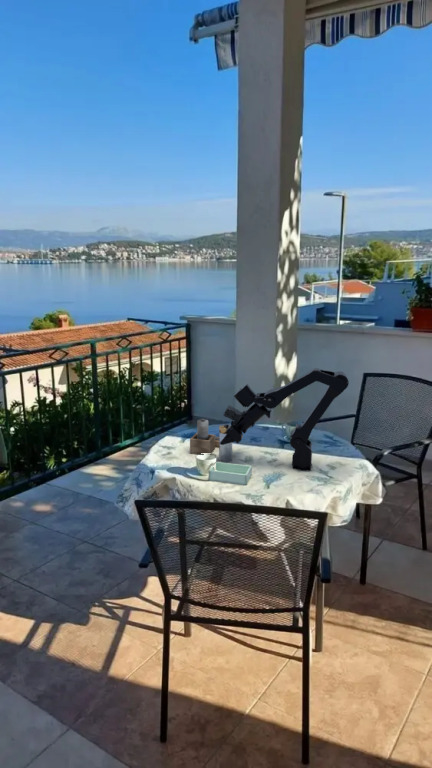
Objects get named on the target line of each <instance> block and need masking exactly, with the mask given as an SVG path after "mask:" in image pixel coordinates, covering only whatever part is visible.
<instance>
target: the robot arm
mask: <svg viewBox="0 0 432 768" xmlns="http://www.w3.org/2000/svg"><path fill="white" fill-rule="evenodd" d="M315 382H318V383H321V384H324V385H326V389H325V392H323V394H322V396H321V397H320V398H319V400H318V402H316V405H315V406H314V407H313V409H311V411H310V412H309V414H308V416H307V417H306V419H305V420H303V421H304V422H302V423H301V424H299V423H298V422H296V424H295V427H294V428H293V429H292V430H291V431H290V434H289V435H290V441H289V444H290V446H291V448H293V449H294V452H293V453H292V459H291V461H292V462H291V465H292V469H293V470H298V469H305V470H304V471H307V470H312V467H311V466H312V465H313V463H312V462H313V450H312V449H313V448H312V445H313V443H312V441H311V440H309V439H310V436H311V434H312V432H313V429H314V428H315V427H316V425H317V424H318V422H319V421H320V420H321V418H322V417H323V415H324V414H325V413H326V412H327V410H328V408H329V407H330V406H331V404H332V402H333V401H334V400H335V399H336V398H338V396H340V395H341V394H342V393H343V392H344V391H345V390H346V389H347V388H348V387H349V385H350V384H349V378H348V375H347V374H346V373H345V372H343V371H341V370H340V371H332V370H324V369H320V368H317V367H315V368H313V369H311V370H310V371H309V372H307V373H305V374H303V375H301V376H299V377H298V378H296V379H294V380H291V381H290V382H288V383H287V384H285V385H282V386H278V387H275V388H271V389H269V390H267V391H265V392H257V393H256V392H254V390H253V389H252V388H251V387H250V385H249V384H248V383H247V384H245V385H244V386H243V387H241V388H239V390H237V391H236V392H235V393H234V394H233V398H234V399H235V400H236V401H237V402H238V403H239V405H240V406H242V407H243V408H246V407H247V408H248V407H249V408H248V409H246V410H243V411H240V410H239V409H237V408H235V407H233V406H231V405H228V406H227V407H226V409H225V410H224V412H223V417H225V418H228V419H230V420H231V422H230V425H231V426H230V427H228V428H227V430H226V432H227V434H226V436H225V437H224V438H223V440H222V441H221V442H220V444H221V445H224V444H228V443H232V444H233V443H237V444H239V443H240V442H241V441H242V439H243V438H244V434H246V433H247V432H248V430H250V429H251V427H254V426H255V424H256V423H258V422H259V421H260V420H261V419H262V418H263V417H264V416H266V417H267V418H269V419H270V418H271V416H272V410H273V409H275V408H276V407H277V406H279V405H280V404H281V403H283V402H284V401H285V400H286V399H287V398H288V397H290V396H291V395H293V394H295V393H297V392H299V391H300V390H303V389H304V388H306V387H308V386H310V385H312V384H313V383H315Z"/></svg>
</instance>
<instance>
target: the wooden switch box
mask: <svg viewBox="0 0 432 768" xmlns="http://www.w3.org/2000/svg"><path fill="white" fill-rule="evenodd" d="M215 448H218V449H219V436H215Z"/></svg>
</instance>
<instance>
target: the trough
mask: <svg viewBox="0 0 432 768" xmlns="http://www.w3.org/2000/svg"><path fill="white" fill-rule="evenodd" d="M215 462H216V470H217V471H214V467H212V466H211V467H210V469H208V481H210V482H211V481H212V482H218V483H227V484H228V483H229V484H234V485H241V486H242V485H243V486H247V485H248V482H249V481H250V479H251V477H252V475H253V473H252V472H253V471H252V470H253V466H252V465H246V464H238V463H230V462H221V461H215Z"/></svg>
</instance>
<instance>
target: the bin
mask: <svg viewBox="0 0 432 768" xmlns="http://www.w3.org/2000/svg"><path fill="white" fill-rule="evenodd" d="M196 421H197V422H196V426H197V427H196V428H197V429H196V430H197V431H196V433H195V434H193V436H191V438H189V454H190V455H198V454H201V453H211V454H213V452H214V451H215V450H216V447H215V437H216V434H211V433H210V434H209V420H208V419H205V418H200V419H198V420H196Z"/></svg>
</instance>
